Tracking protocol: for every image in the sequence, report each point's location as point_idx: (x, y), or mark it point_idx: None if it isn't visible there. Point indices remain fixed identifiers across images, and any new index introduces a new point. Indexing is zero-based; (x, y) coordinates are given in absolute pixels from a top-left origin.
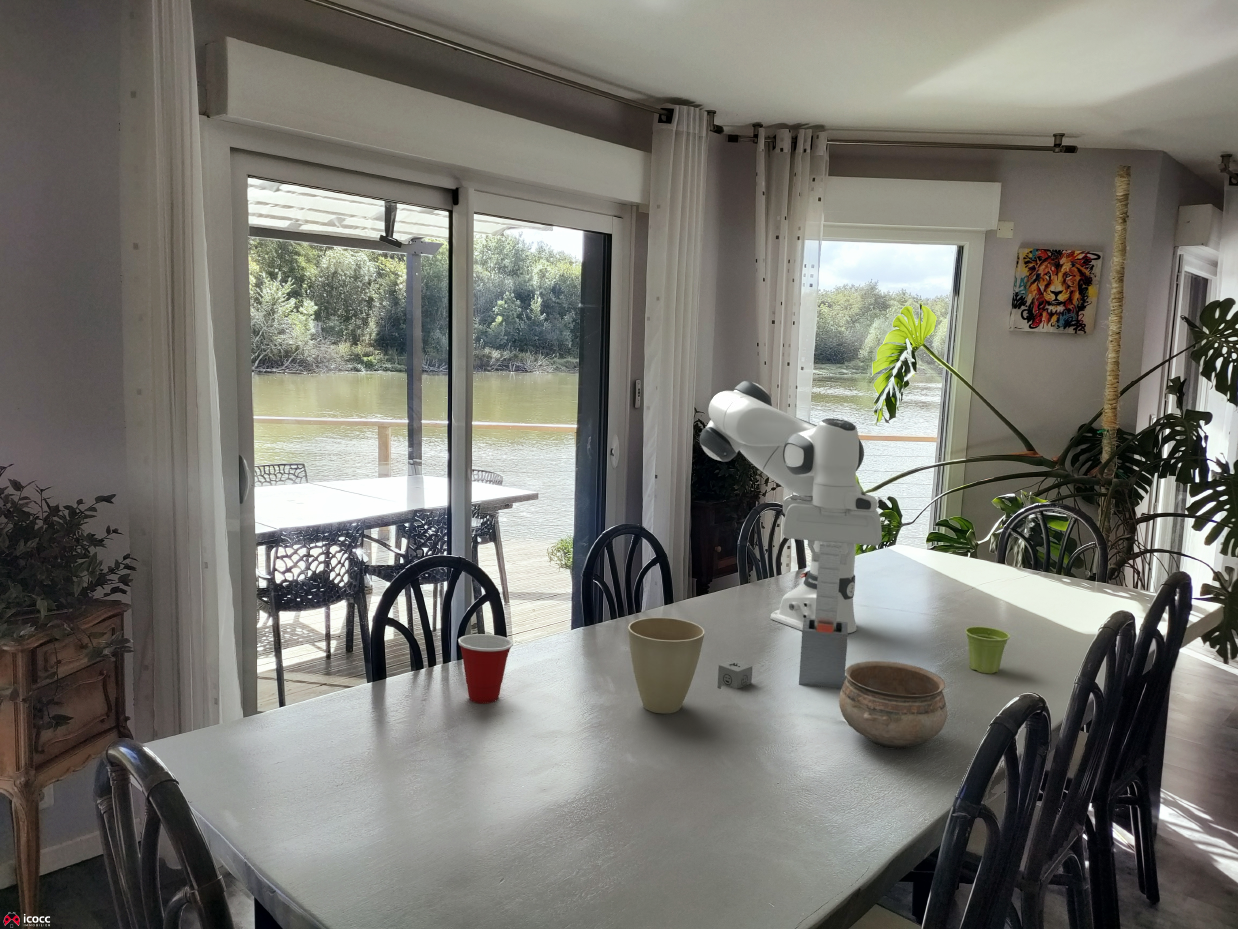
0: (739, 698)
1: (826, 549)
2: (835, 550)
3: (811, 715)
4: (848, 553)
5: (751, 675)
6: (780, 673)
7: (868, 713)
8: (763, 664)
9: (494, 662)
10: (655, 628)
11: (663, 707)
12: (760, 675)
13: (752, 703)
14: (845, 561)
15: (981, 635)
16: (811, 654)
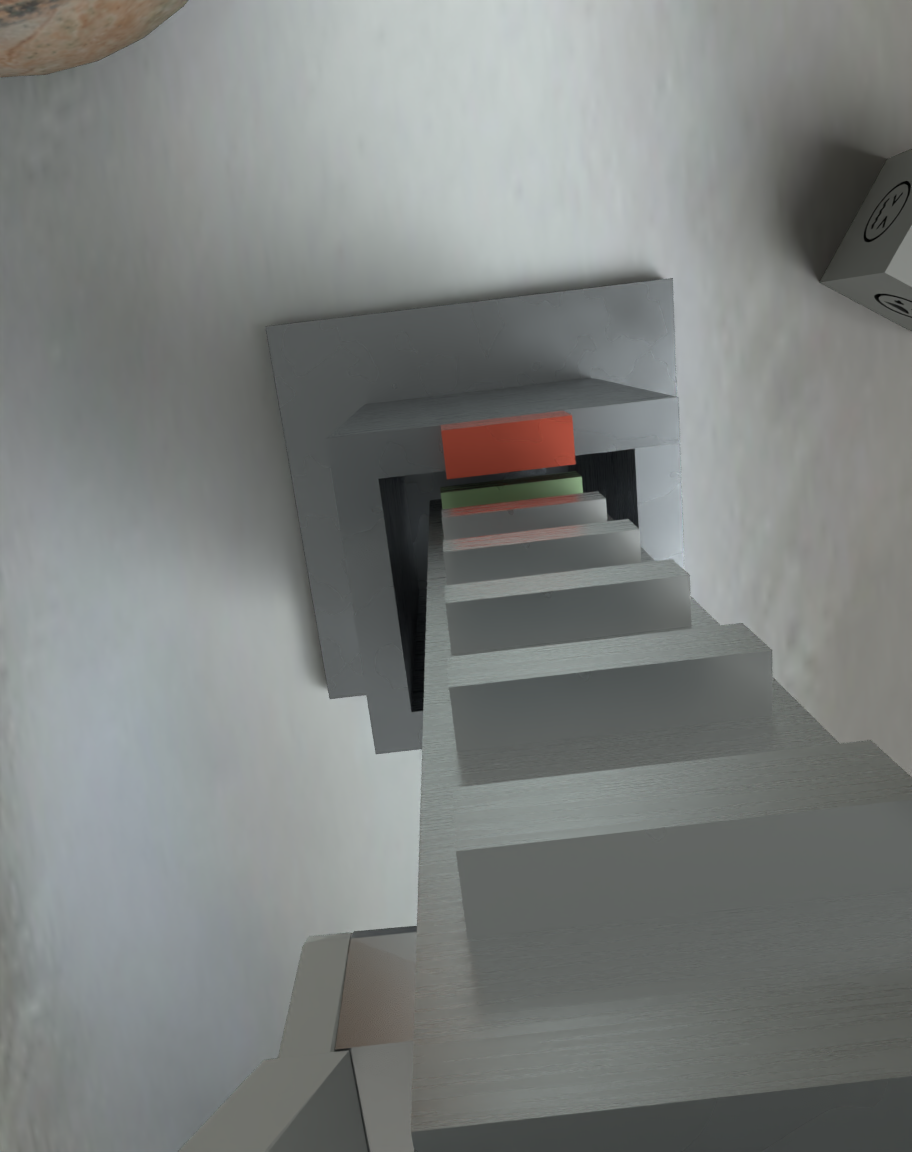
0: (867, 106)
1: (860, 1003)
2: (585, 1020)
3: (479, 29)
4: (246, 1119)
5: (858, 273)
6: (697, 568)
7: None
8: (789, 654)
9: None
10: None
11: None
12: (789, 497)
13: (794, 62)
14: (337, 963)
15: None
16: (564, 395)
